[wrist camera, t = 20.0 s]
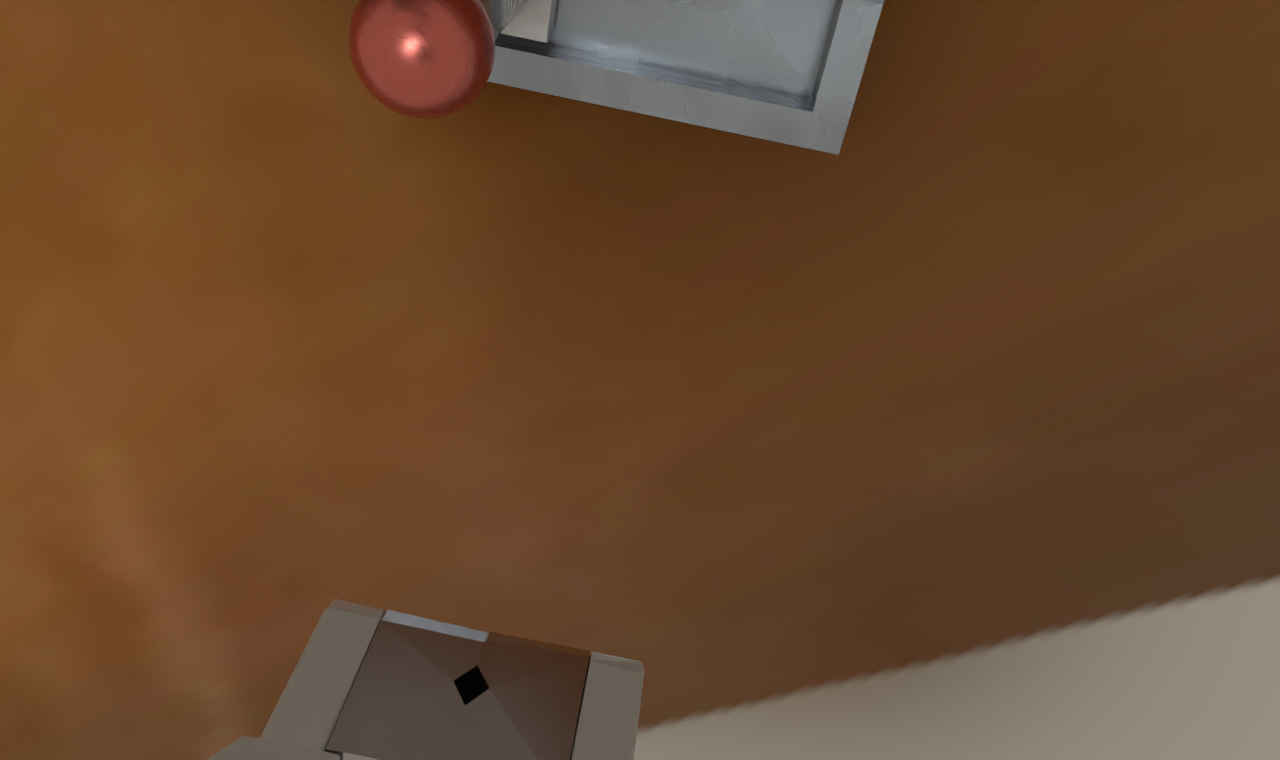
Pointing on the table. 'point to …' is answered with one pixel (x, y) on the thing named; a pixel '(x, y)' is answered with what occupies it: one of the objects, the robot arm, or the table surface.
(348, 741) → the robot arm
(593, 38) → the lever rail
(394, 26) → the lever
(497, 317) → the table surface
